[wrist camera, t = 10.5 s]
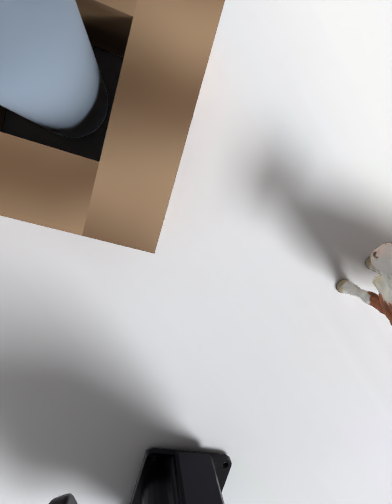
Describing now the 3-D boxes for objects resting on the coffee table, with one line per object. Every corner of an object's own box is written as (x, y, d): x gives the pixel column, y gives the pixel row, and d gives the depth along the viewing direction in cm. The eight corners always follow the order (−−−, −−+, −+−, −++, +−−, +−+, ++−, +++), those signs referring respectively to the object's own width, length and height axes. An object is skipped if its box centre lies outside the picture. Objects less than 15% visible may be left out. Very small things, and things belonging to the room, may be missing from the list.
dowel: (76, 153, 17) (-122, 78, 4) (11, 98, 16) (-565, -258, 3) (123, 97, 17) (77, -181, 4) (60, 37, 16) (-320, -658, 3)
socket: (150, 234, 19) (154, 253, 14) (-77, 175, 16) (-165, 174, 12) (207, 22, 17) (235, -38, 12) (-41, -87, 14) (-130, -220, 10)
